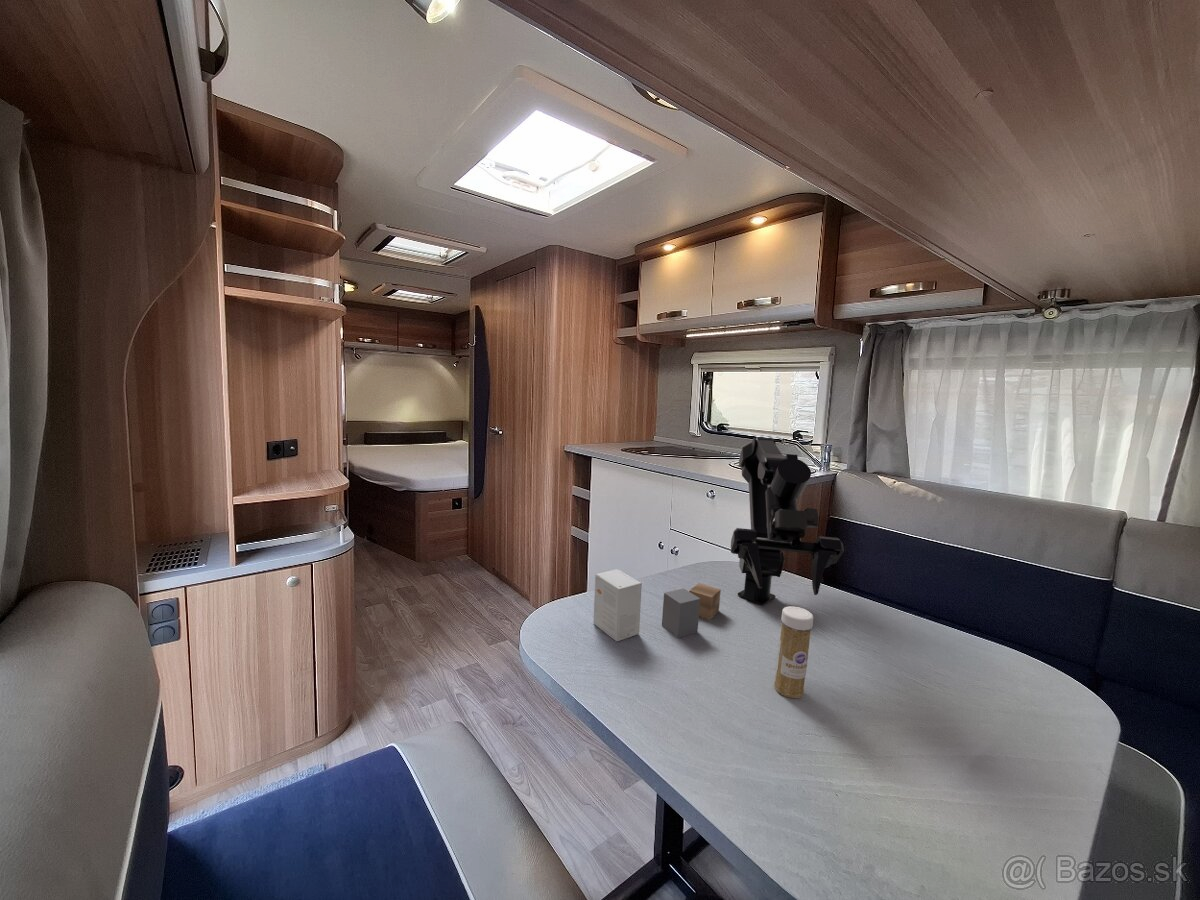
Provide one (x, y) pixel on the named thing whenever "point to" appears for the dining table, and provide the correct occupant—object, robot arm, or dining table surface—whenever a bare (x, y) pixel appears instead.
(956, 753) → the dining table surface
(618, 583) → the small box
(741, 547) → the robot arm
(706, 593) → the walnut cube
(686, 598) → the gray block
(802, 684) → the sprinkles bottle
